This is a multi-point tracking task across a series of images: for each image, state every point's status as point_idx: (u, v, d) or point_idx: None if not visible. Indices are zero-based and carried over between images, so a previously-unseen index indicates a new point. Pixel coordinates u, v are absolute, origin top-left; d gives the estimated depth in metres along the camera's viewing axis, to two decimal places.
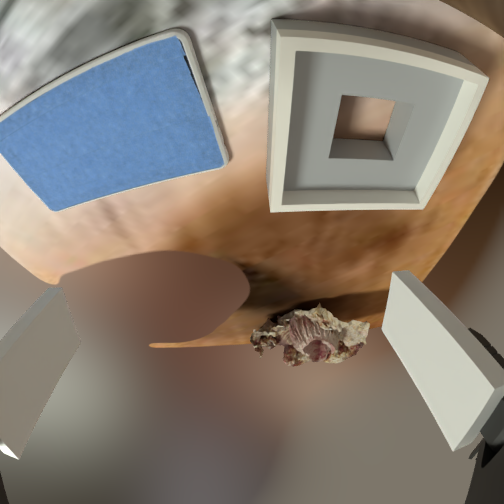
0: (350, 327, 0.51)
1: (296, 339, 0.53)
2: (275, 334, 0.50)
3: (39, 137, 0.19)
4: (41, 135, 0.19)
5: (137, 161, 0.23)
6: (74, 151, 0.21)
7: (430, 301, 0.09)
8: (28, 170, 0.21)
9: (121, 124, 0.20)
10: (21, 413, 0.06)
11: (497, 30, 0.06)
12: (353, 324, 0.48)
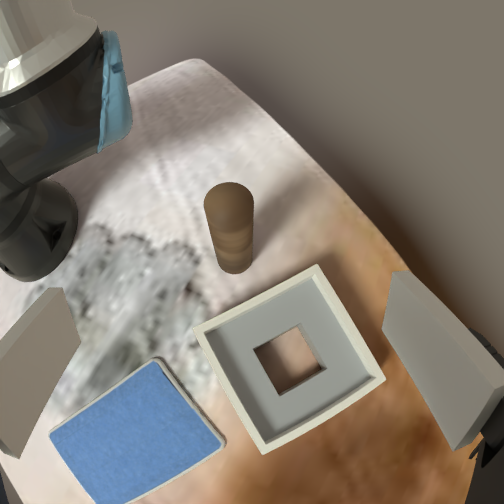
0: None
1: None
2: None
3: (87, 441, 0.26)
4: (88, 440, 0.26)
5: (159, 457, 0.26)
6: (113, 453, 0.26)
7: (430, 301, 0.09)
8: (80, 470, 0.24)
9: (140, 428, 0.27)
10: (21, 413, 0.06)
11: (230, 233, 0.25)
12: None
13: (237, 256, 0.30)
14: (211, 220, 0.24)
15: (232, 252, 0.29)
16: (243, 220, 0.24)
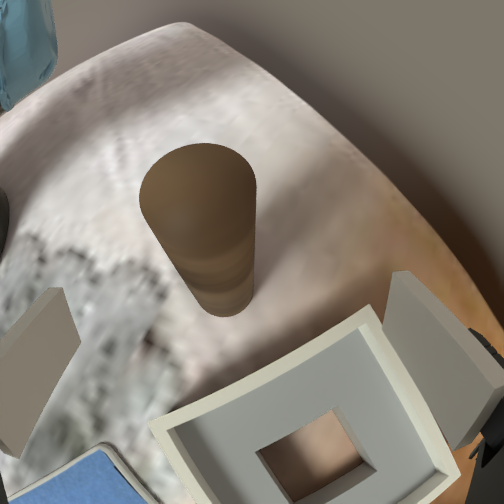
0: None
1: None
2: None
3: None
4: None
5: None
6: None
7: (430, 301, 0.09)
8: None
9: None
10: (21, 413, 0.06)
11: (201, 259, 0.11)
12: None
13: (225, 296, 0.16)
14: (154, 230, 0.10)
15: (214, 290, 0.14)
16: (230, 230, 0.09)
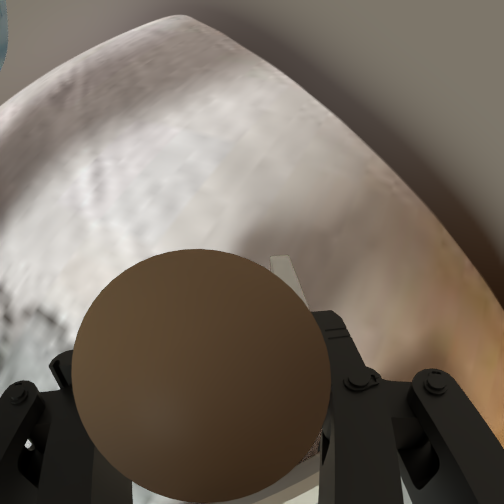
0: None
1: None
2: None
3: None
4: None
5: None
6: None
7: (287, 281, 0.11)
8: None
9: None
10: None
11: None
12: None
13: None
14: None
15: None
16: (273, 482, 0.03)
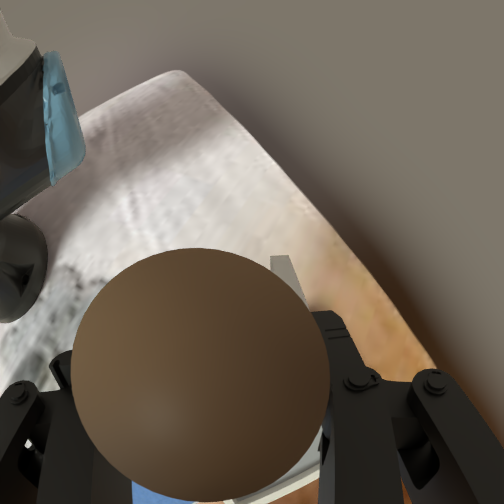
0: None
1: None
2: None
3: None
4: None
5: None
6: None
7: (287, 281, 0.11)
8: None
9: None
10: None
11: None
12: None
13: None
14: None
15: None
16: (272, 481, 0.03)
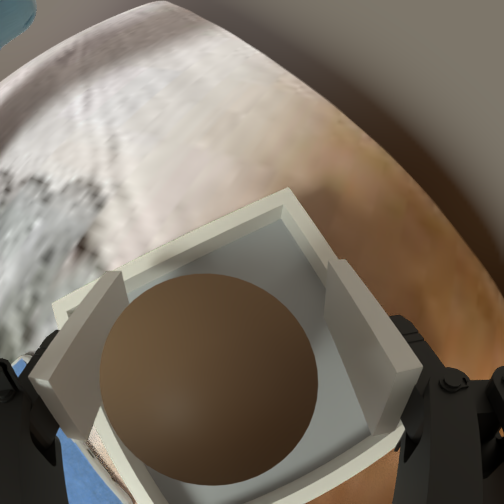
0: None
1: None
2: None
3: None
4: None
5: None
6: None
7: (355, 287, 0.10)
8: None
9: None
10: (89, 393, 0.08)
11: None
12: None
13: None
14: None
15: None
16: (271, 467, 0.04)
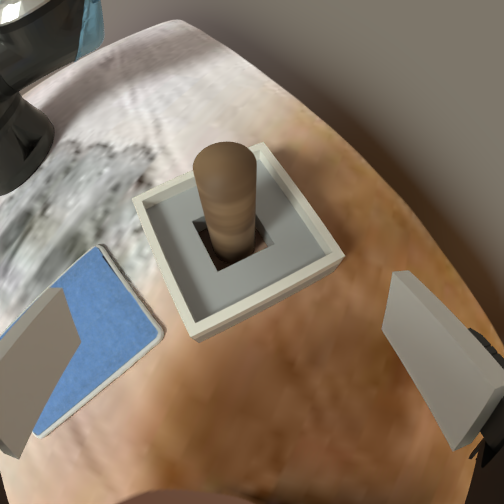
0: None
1: None
2: None
3: None
4: None
5: (92, 354, 0.25)
6: None
7: (430, 301, 0.09)
8: None
9: (75, 320, 0.26)
10: (21, 413, 0.06)
11: (226, 204, 0.19)
12: None
13: (236, 239, 0.24)
14: (202, 186, 0.18)
15: (230, 232, 0.23)
16: (243, 185, 0.18)
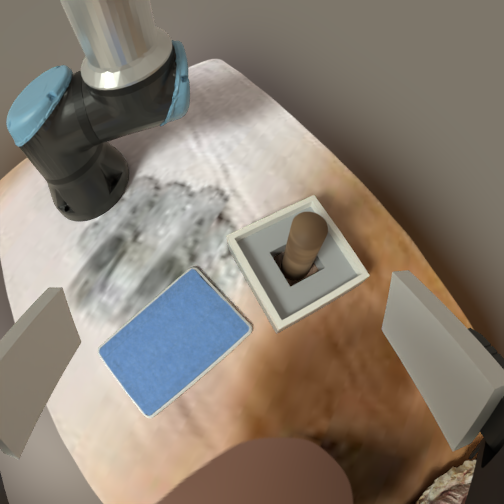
0: None
1: None
2: (424, 503, 0.25)
3: (135, 346, 0.38)
4: (136, 345, 0.38)
5: (199, 347, 0.39)
6: (159, 352, 0.38)
7: (430, 301, 0.09)
8: (127, 377, 0.36)
9: (183, 324, 0.40)
10: (21, 413, 0.06)
11: (309, 250, 0.33)
12: None
13: (305, 267, 0.38)
14: (298, 241, 0.32)
15: (304, 263, 0.37)
16: (322, 241, 0.32)
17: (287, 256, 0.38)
